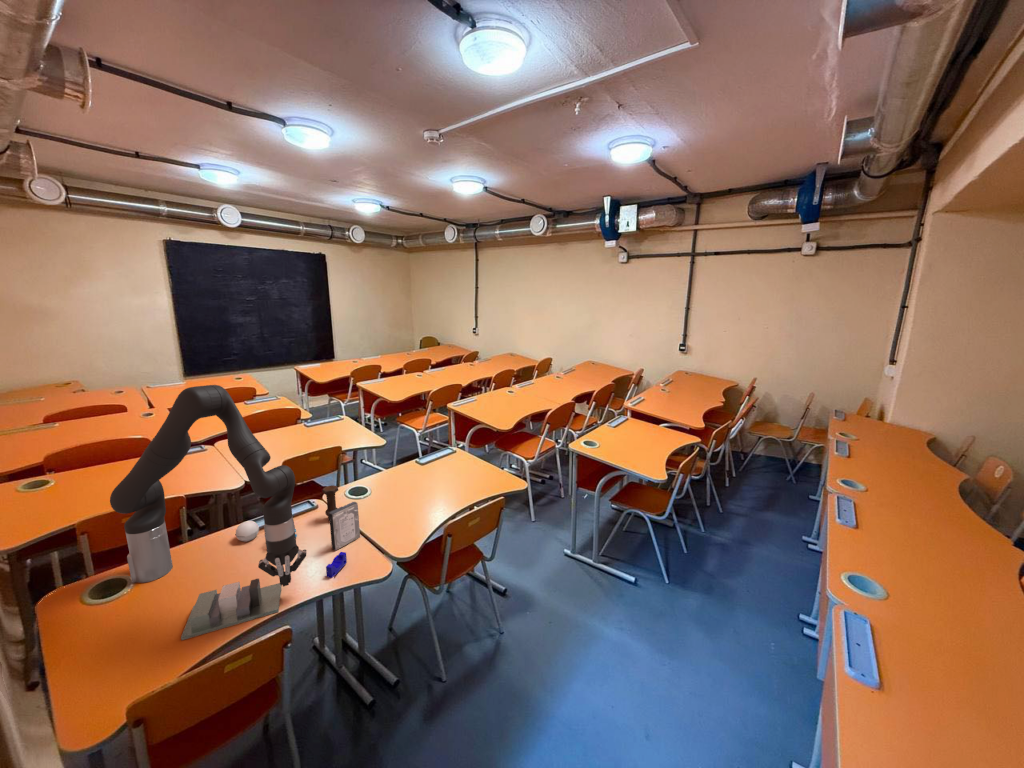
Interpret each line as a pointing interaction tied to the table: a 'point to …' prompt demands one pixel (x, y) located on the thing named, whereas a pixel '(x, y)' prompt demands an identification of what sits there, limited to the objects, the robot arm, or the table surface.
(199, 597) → the vise
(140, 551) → the robot arm
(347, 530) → the disk drive
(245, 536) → the seamed sphere
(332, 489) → the bolt
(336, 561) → the cable holder
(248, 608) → the free jaw
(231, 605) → the steel block
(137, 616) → the table surface
